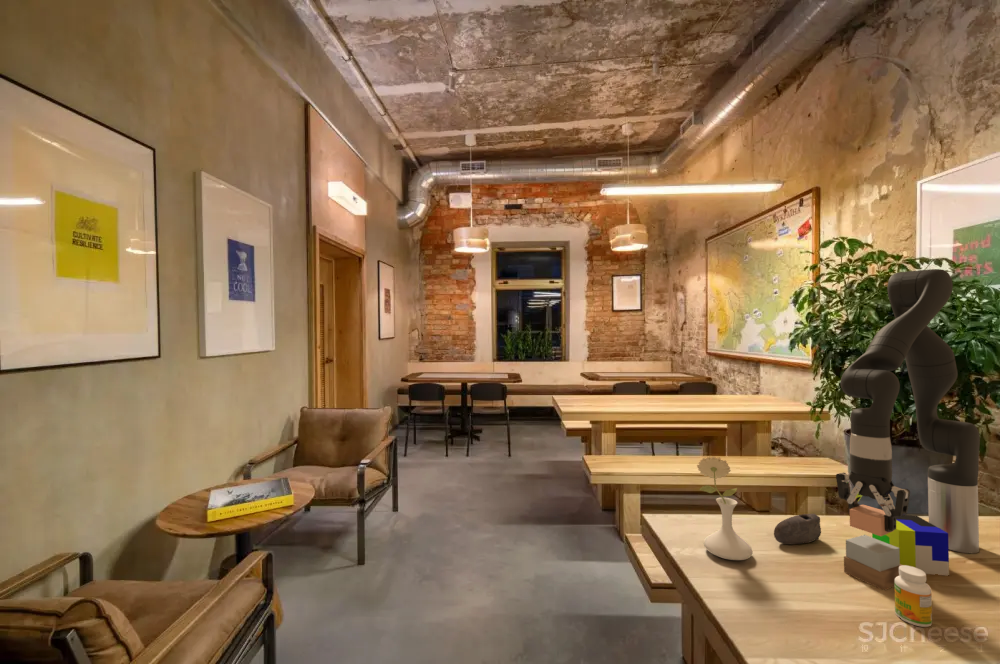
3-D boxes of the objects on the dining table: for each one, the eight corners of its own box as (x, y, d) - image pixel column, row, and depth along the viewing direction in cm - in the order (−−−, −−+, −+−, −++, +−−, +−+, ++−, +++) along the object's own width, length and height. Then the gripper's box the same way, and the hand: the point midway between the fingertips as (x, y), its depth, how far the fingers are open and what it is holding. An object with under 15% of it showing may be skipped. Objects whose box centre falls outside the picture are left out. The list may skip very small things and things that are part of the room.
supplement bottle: (887, 611, 89) (886, 564, 89) (911, 609, 90) (910, 562, 90) (914, 628, 84) (913, 578, 84) (940, 626, 84) (939, 577, 84)
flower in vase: (757, 552, 113) (755, 457, 113) (746, 570, 105) (744, 467, 105) (705, 537, 122) (703, 448, 122) (690, 552, 114) (689, 458, 114)
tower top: (865, 550, 106) (864, 534, 106) (899, 565, 99) (899, 548, 99) (846, 556, 103) (845, 539, 103) (880, 571, 97) (879, 553, 97)
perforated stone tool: (782, 549, 114) (781, 523, 114) (766, 540, 120) (765, 515, 120) (828, 543, 118) (828, 517, 118) (811, 534, 123) (810, 510, 123)
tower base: (864, 565, 107) (863, 549, 107) (904, 582, 99) (904, 565, 99) (844, 573, 104) (843, 556, 104) (884, 591, 96) (884, 573, 96)
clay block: (863, 520, 105) (862, 504, 105) (894, 530, 100) (893, 513, 100) (849, 525, 103) (849, 509, 103) (880, 536, 97) (880, 518, 97)
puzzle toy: (949, 575, 101) (948, 533, 101) (899, 571, 103) (898, 530, 103) (917, 554, 111) (916, 515, 111) (872, 551, 113) (871, 512, 113)
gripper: (918, 460, 96) (919, 535, 96) (846, 444, 110) (847, 510, 110) (898, 464, 93) (900, 541, 93) (827, 448, 107) (828, 516, 107)
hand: (871, 524), depth 101 cm, fingers closed on clay block, 6 cm apart
